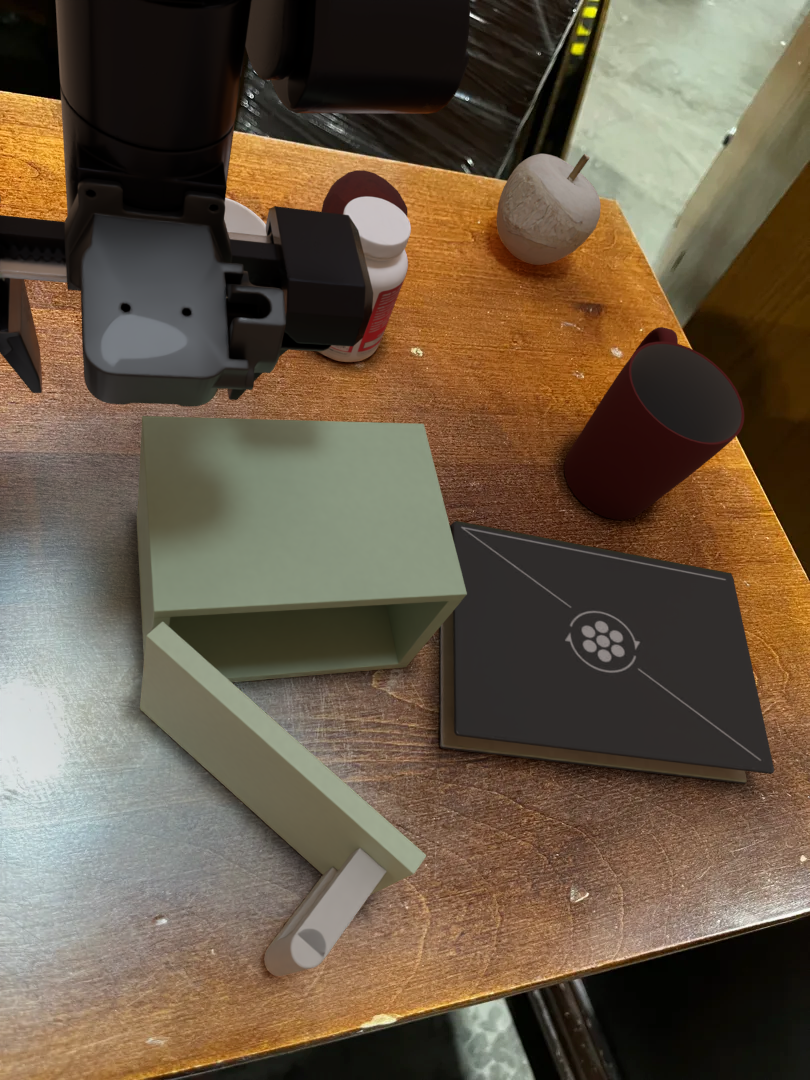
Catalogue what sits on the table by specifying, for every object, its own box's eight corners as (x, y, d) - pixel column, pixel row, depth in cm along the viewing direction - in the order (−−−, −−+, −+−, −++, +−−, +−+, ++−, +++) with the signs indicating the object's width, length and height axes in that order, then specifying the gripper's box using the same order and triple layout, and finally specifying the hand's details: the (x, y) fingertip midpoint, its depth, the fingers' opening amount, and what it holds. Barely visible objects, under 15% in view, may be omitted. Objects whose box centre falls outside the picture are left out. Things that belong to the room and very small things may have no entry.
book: (707, 587, 62) (732, 569, 59) (745, 784, 54) (775, 773, 51) (438, 538, 56) (453, 516, 54) (438, 748, 49) (455, 734, 46)
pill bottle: (368, 307, 66) (410, 192, 56) (386, 366, 63) (432, 255, 54) (294, 304, 63) (324, 183, 54) (308, 364, 61) (343, 249, 51)
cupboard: (406, 667, 51) (467, 594, 42) (145, 690, 45) (153, 611, 36) (375, 516, 56) (424, 423, 47) (136, 520, 50) (141, 415, 41)
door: (288, 994, 40) (336, 987, 31) (60, 782, 41) (47, 721, 33) (365, 887, 43) (427, 855, 35) (152, 695, 45) (162, 620, 36)
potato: (415, 251, 71) (437, 193, 66) (363, 295, 66) (384, 237, 61) (347, 203, 71) (365, 142, 66) (292, 244, 66) (306, 182, 62)
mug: (549, 395, 67) (618, 297, 58) (644, 419, 69) (724, 327, 60) (558, 516, 61) (636, 427, 52) (662, 538, 63) (755, 456, 54)
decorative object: (470, 255, 73) (515, 158, 65) (496, 205, 78) (541, 109, 70) (556, 300, 73) (613, 210, 65) (577, 247, 78) (631, 157, 70)
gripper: (-215, 232, 21) (-90, 534, 33) (453, 292, 27) (344, 525, 40) (-163, -15, 26) (-71, 331, 38) (391, 87, 32) (311, 353, 45)
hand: (138, 389), depth 40 cm, fingers open, 9 cm apart
